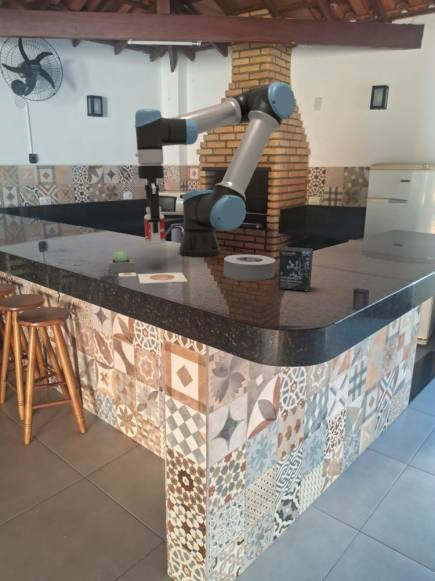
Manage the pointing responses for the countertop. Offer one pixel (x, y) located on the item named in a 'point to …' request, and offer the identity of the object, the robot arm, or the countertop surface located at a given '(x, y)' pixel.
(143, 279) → the sheet
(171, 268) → the countertop surface
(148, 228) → the pill bottle
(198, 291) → the countertop surface
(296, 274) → the box
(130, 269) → the button base
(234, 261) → the tape roll
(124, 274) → the card
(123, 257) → the button cap
